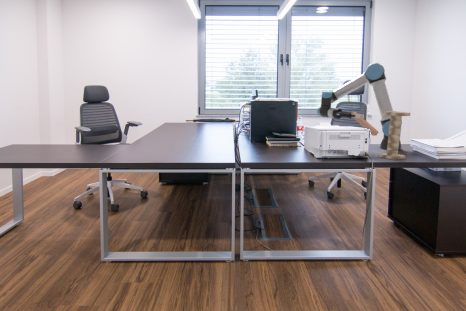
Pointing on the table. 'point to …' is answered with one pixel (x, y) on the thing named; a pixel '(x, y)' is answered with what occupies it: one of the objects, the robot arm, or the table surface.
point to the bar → (365, 124)
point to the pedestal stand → (394, 135)
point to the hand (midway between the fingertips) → (361, 116)
